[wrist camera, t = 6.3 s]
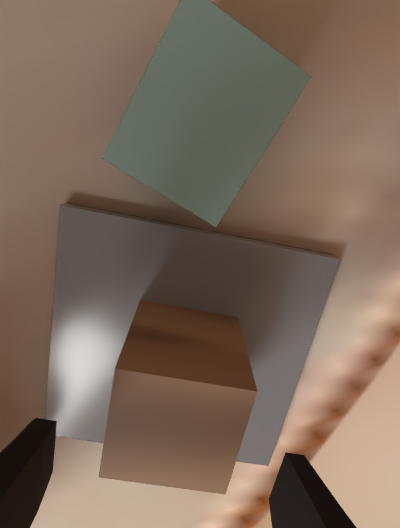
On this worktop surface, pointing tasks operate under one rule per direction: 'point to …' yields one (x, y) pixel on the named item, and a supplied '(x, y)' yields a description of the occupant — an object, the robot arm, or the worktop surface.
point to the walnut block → (178, 400)
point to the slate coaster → (181, 295)
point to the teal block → (204, 110)
